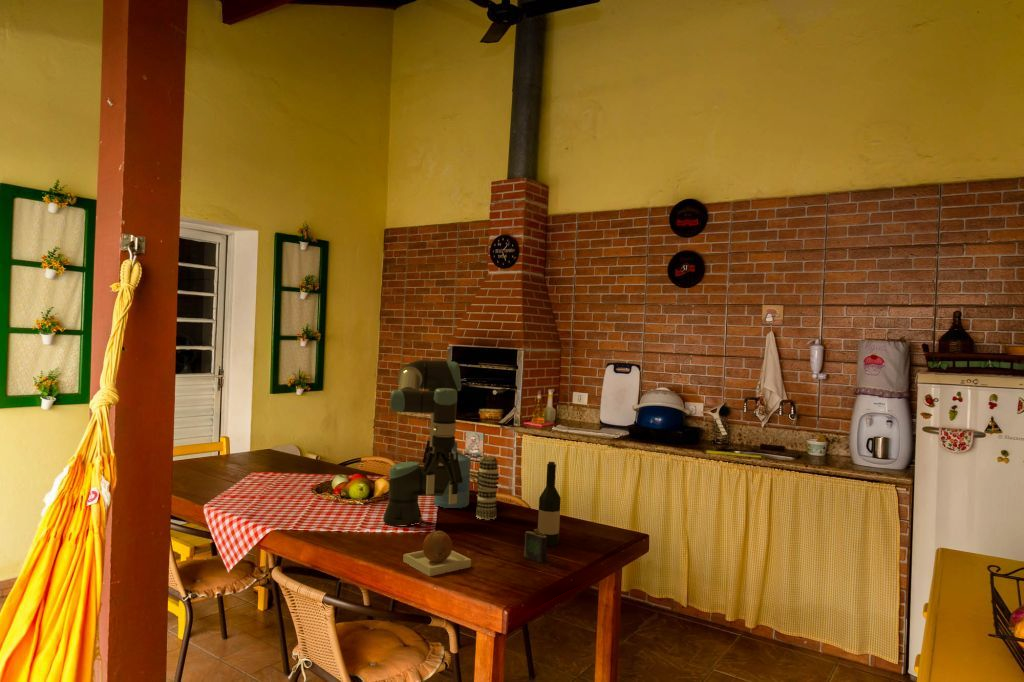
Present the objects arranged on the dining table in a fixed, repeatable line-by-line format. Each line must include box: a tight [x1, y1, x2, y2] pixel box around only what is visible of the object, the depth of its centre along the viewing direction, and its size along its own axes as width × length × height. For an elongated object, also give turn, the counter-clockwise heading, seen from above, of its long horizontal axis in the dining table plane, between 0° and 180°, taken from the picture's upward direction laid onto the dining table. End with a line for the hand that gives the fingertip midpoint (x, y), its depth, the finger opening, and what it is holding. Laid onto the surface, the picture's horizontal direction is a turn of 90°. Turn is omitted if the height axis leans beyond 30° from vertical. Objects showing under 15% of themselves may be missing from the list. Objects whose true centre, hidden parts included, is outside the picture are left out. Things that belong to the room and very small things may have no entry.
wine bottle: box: [537, 461, 562, 546], centre depth 255 cm, size 8×8×30 cm
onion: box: [422, 530, 453, 562], centre depth 226 cm, size 10×10×10 cm
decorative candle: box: [475, 455, 500, 521], centre depth 286 cm, size 9×9×25 cm
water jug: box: [433, 440, 472, 509], centre depth 304 cm, size 16×16×28 cm
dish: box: [402, 549, 472, 577], centre depth 226 cm, size 16×16×2 cm
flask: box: [523, 528, 547, 564], centre depth 236 cm, size 9×3×11 cm, turn 48°
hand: (441, 498), depth 228 cm, fingers open, 13 cm apart
